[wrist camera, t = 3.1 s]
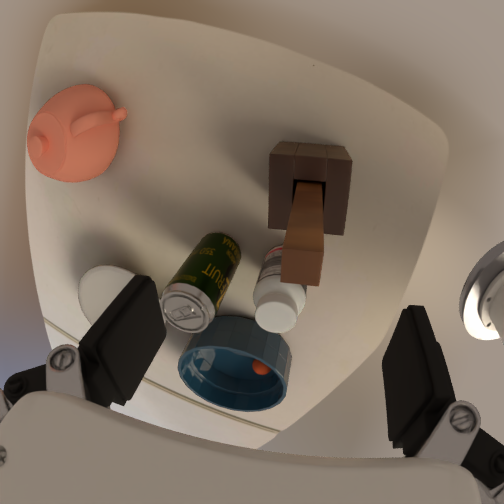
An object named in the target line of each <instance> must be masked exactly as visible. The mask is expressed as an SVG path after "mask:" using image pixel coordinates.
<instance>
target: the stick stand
mask: <svg viewBox="0 0 504 504" xmlns="http://www.w3.org/2000/svg"><path fill="white" fill-rule="evenodd" d="M351 172H352V159H351V157H350V156H349V154H348V152H347V150H346V149H345V147H342V146H333V145H322V144H311V143H297V142H279V143H278V144H277V146H276V147H275V148H274V149H273V150H272V152H271V153H270V154H269V210H268V228H270V229H281V230H287V226H288V221H289V217H290V213H291V208H292V204H293V200H294V195H295V191H296V187H297V182H298V179H299V180H310V181H321V182H322V201H323V232H324V234H333V235H342V236H343V235H344V229H345V222H346V214H347V207H348V199H349V190H350V181H351Z"/></svg>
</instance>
